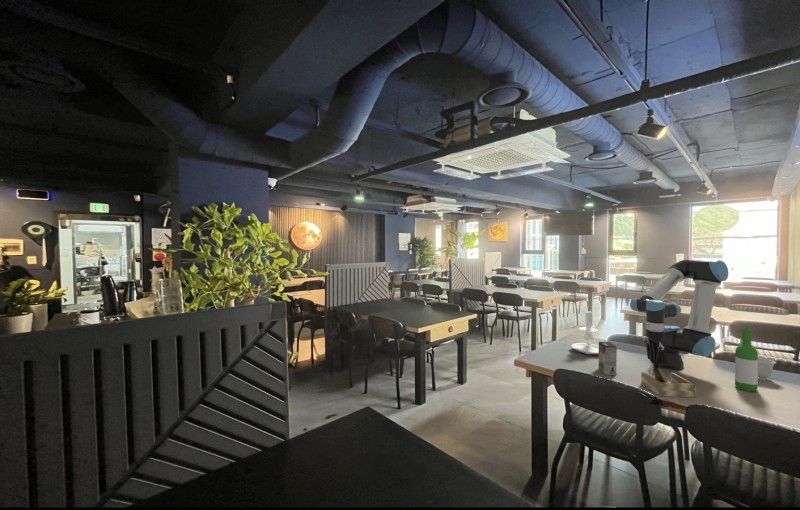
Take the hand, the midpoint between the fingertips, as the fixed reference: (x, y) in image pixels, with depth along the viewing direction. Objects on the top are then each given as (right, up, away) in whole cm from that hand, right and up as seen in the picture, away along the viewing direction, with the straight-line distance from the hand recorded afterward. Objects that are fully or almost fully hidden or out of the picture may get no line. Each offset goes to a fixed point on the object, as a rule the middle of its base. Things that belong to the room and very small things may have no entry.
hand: (654, 374), depth 172 cm
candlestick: (-8, -3, +46) cm, 47 cm away
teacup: (+59, -3, +4) cm, 59 cm away
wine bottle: (+39, -4, -9) cm, 40 cm away
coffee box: (-15, -4, +15) cm, 22 cm away
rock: (0, -4, -5) cm, 7 cm away
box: (-1, -4, -8) cm, 9 cm away
